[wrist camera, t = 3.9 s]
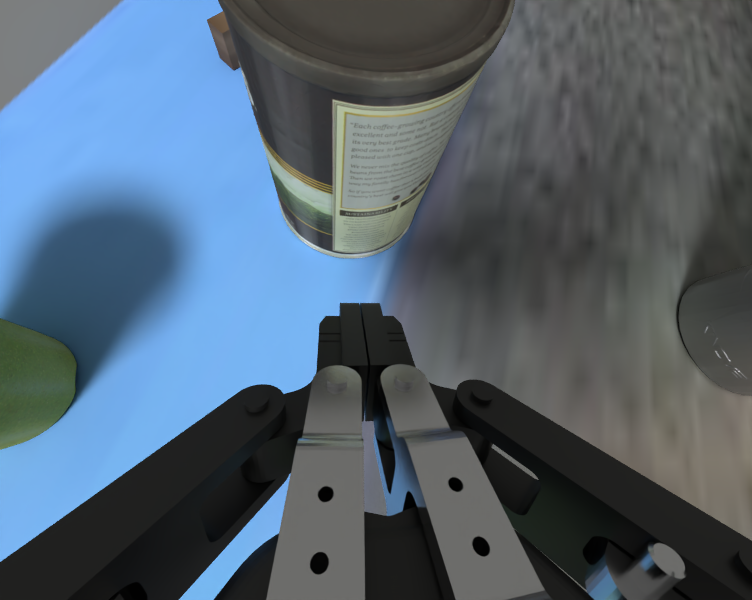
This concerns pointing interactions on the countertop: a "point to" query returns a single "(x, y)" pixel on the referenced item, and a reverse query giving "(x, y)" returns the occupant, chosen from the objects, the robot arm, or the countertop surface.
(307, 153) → the coffee can
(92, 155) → the countertop surface
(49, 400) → the plant pot
